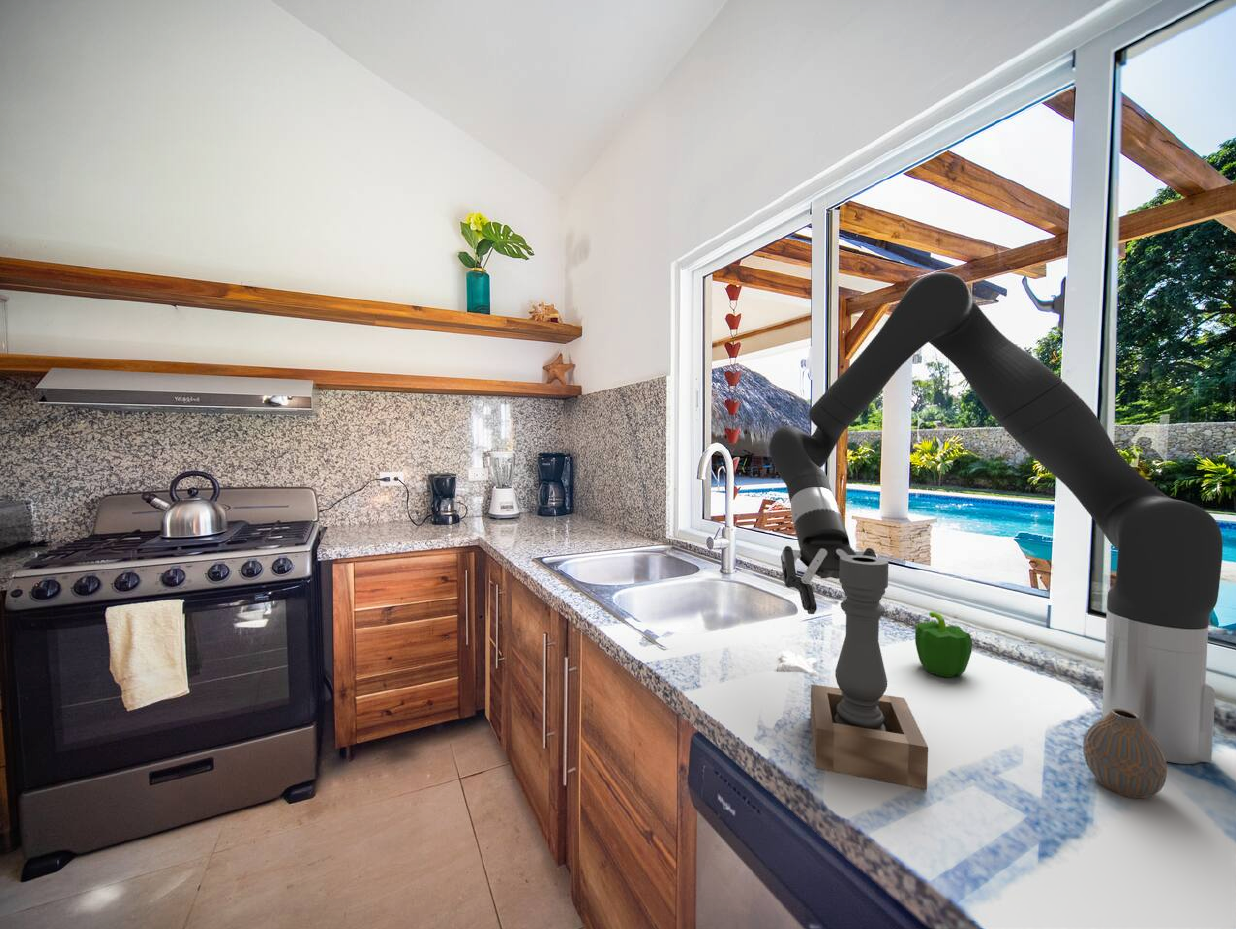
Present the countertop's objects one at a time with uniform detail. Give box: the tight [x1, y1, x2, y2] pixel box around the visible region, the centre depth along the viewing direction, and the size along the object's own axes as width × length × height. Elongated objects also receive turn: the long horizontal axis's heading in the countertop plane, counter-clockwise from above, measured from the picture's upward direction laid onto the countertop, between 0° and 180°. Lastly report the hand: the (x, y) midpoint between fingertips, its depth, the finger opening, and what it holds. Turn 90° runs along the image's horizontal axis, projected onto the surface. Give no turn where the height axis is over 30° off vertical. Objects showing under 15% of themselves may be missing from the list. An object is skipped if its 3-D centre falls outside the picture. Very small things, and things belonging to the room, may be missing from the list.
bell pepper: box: [914, 611, 973, 678], centre depth 89 cm, size 8×8×10 cm
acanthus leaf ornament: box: [776, 650, 821, 677], centre depth 91 cm, size 8×7×2 cm
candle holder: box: [834, 555, 889, 731], centre depth 65 cm, size 6×6×25 cm
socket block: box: [809, 683, 929, 790], centre depth 65 cm, size 12×12×5 cm
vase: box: [1082, 709, 1168, 799], centre depth 59 cm, size 7×7×9 cm
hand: (843, 612), depth 72 cm, fingers open, 8 cm apart
